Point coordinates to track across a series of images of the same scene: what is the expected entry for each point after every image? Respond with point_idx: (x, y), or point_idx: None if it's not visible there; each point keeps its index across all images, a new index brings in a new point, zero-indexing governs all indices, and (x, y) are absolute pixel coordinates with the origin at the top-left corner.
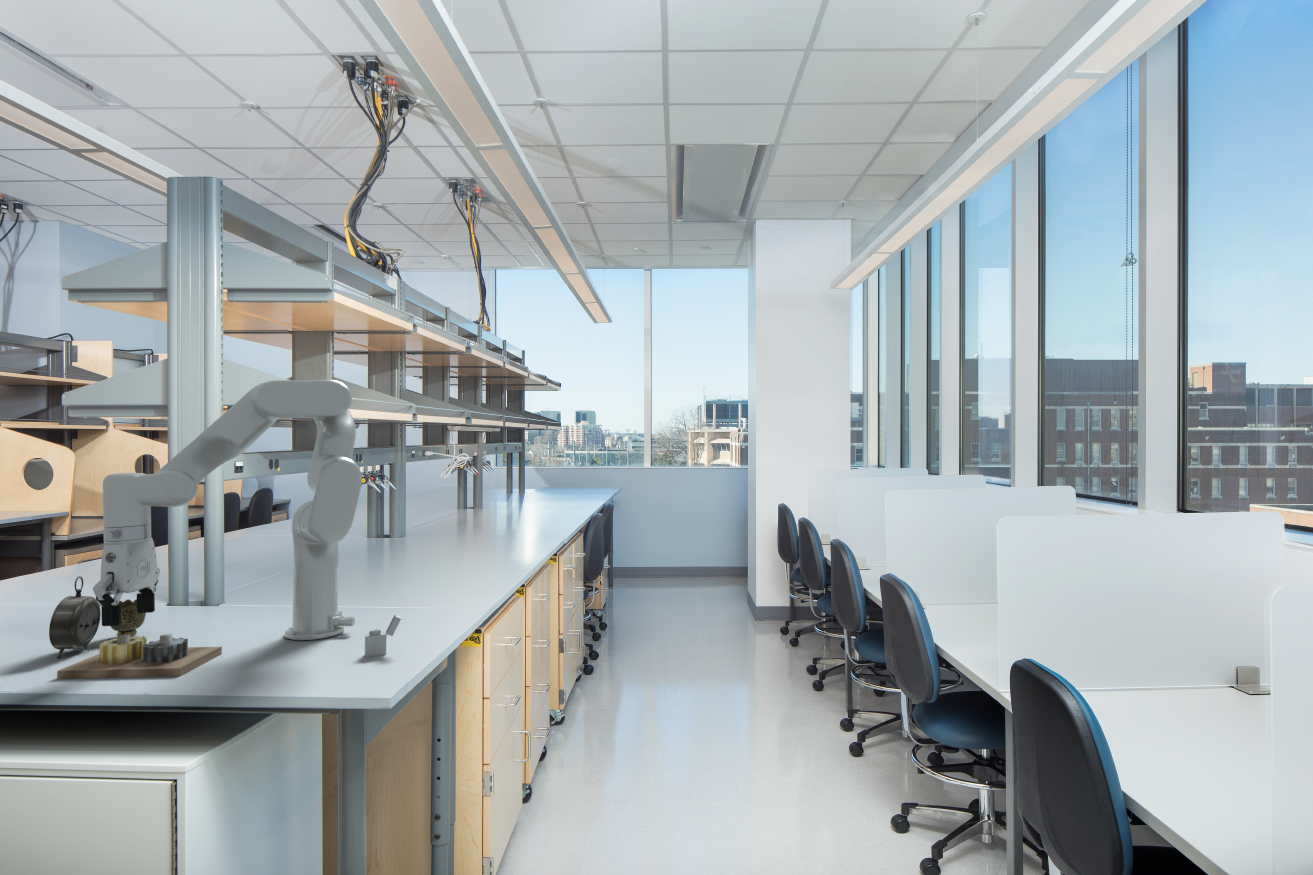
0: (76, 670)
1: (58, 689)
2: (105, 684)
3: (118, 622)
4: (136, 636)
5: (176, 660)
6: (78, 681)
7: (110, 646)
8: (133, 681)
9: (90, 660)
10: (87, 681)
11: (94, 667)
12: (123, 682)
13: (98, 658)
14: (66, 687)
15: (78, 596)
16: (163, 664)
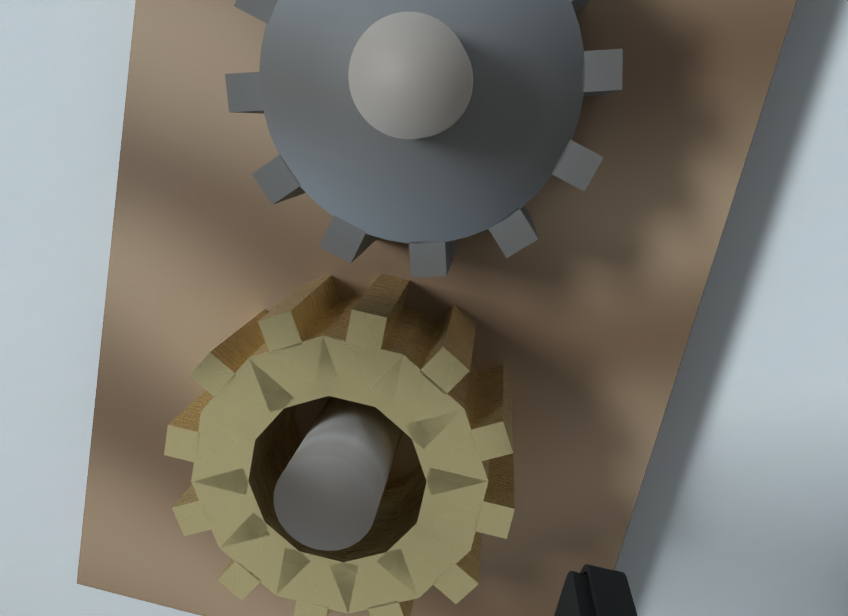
0: None
1: (827, 579)
2: (831, 338)
3: (624, 597)
4: (190, 428)
5: None
6: (678, 532)
7: (510, 520)
8: (834, 167)
9: None
10: (701, 479)
11: (563, 519)
12: (831, 232)
13: None
14: (798, 551)
15: None
16: (664, 18)
